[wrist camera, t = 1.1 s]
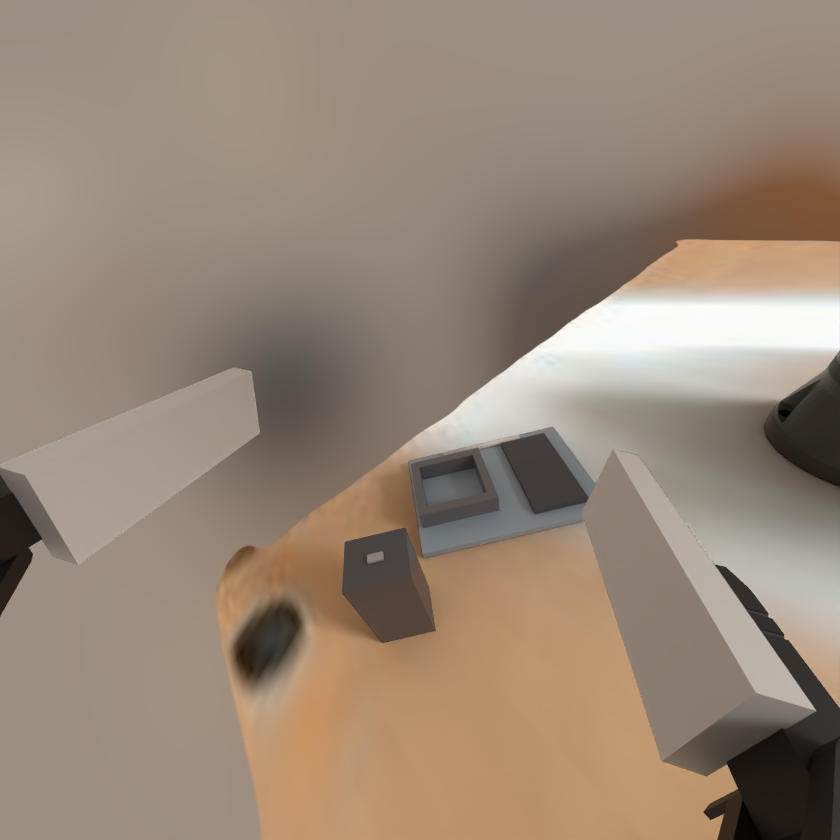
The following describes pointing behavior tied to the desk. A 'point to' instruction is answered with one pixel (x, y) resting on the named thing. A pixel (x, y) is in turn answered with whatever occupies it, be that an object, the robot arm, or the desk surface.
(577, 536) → the desk surface
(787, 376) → the desk surface
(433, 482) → the charging dock
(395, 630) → the brick
